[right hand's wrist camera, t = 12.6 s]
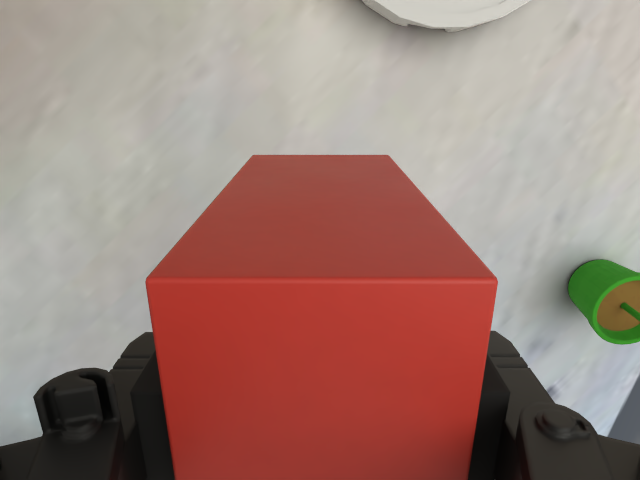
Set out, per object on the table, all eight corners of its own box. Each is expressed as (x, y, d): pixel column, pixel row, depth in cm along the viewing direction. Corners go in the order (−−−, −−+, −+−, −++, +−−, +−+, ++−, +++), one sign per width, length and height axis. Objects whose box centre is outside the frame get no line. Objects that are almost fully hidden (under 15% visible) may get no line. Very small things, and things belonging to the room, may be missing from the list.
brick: (260, 323, 21) (192, 608, 10) (252, 154, 18) (142, 278, 7) (380, 324, 21) (449, 609, 10) (389, 154, 18) (501, 279, 7)
